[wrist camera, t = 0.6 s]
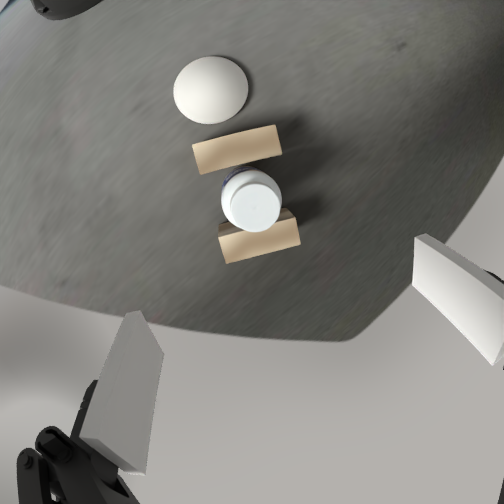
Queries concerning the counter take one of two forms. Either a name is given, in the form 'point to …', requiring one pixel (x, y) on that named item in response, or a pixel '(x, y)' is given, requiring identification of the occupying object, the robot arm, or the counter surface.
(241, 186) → the pill bottle
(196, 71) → the pad
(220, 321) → the counter surface
